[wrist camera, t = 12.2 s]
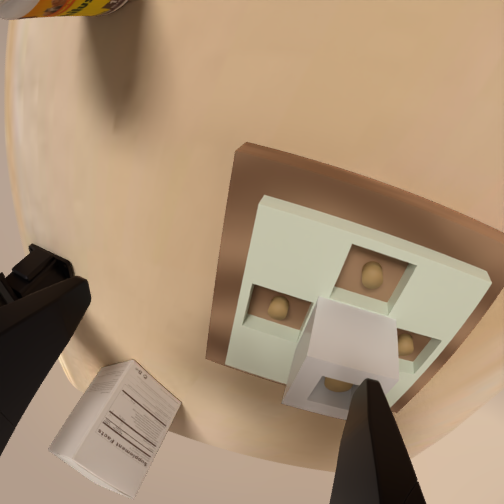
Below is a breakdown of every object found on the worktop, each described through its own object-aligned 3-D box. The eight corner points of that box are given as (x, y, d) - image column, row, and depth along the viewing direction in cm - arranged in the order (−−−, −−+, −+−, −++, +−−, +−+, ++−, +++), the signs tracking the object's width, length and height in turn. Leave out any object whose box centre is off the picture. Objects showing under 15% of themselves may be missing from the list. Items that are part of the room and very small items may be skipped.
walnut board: (397, 395, 26) (394, 460, 20) (213, 342, 28) (182, 404, 23) (512, 237, 16) (556, 308, 10) (246, 142, 18) (194, 184, 12)
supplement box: (145, 405, 42) (100, 486, 30) (101, 365, 39) (45, 448, 27) (184, 403, 37) (135, 502, 25) (134, 357, 34) (69, 460, 22)
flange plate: (486, 271, 15) (515, 339, 11) (388, 398, 24) (385, 457, 19) (264, 194, 17) (228, 250, 13) (229, 353, 25) (204, 410, 21)
